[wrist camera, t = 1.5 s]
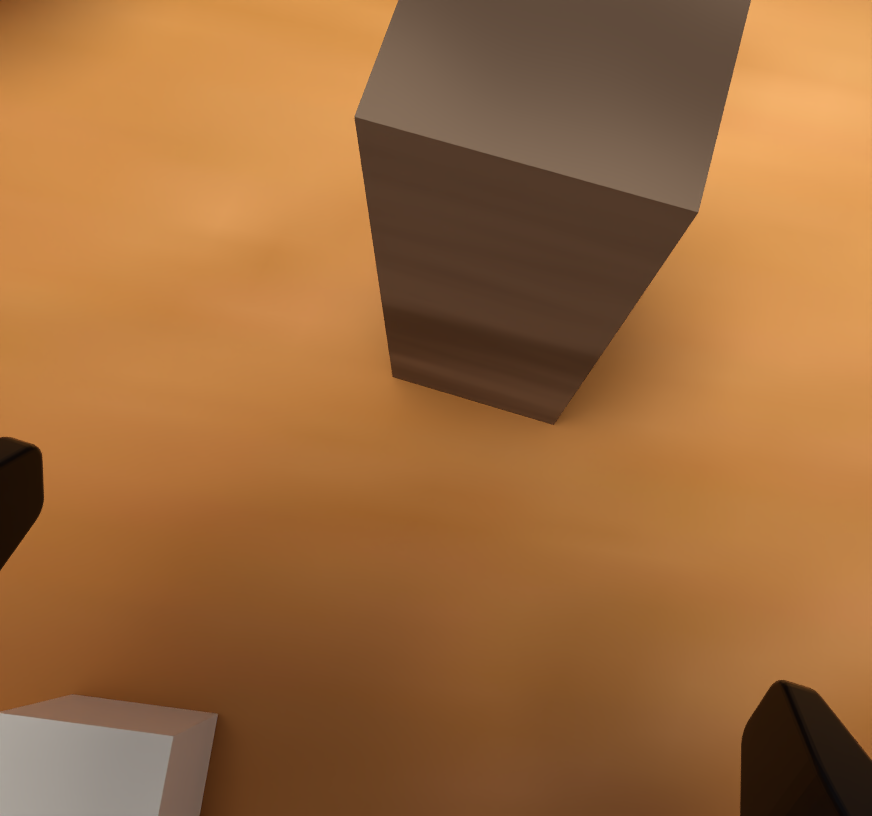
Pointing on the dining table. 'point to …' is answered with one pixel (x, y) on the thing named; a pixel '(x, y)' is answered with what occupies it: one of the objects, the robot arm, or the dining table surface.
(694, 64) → the walnut block
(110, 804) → the ceramic cube
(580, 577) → the dining table surface
